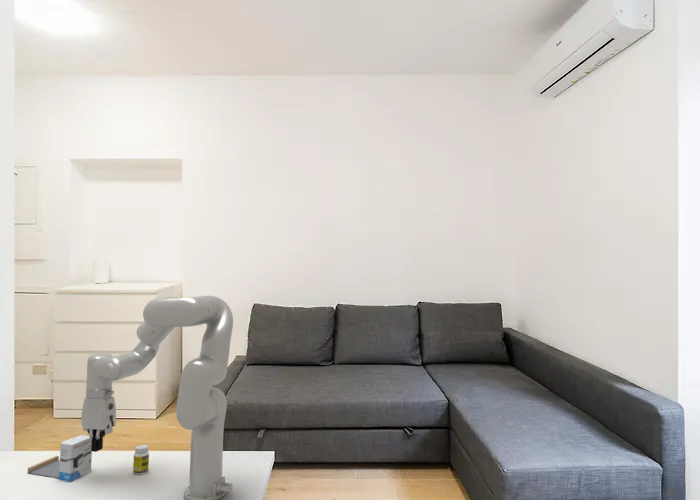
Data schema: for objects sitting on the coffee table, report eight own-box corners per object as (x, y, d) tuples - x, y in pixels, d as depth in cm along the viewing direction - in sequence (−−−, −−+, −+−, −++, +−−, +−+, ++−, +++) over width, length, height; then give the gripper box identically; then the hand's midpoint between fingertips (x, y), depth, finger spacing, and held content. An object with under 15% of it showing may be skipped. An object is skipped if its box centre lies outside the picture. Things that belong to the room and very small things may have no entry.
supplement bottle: (142, 475, 162) (143, 449, 162) (129, 474, 163) (130, 448, 163) (151, 470, 166) (152, 444, 167) (138, 468, 167) (139, 443, 168)
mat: (86, 465, 169) (86, 460, 169) (59, 478, 158) (59, 473, 158) (55, 461, 173) (56, 455, 173) (27, 473, 162) (27, 467, 162)
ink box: (69, 482, 156) (71, 444, 156) (58, 479, 158) (59, 442, 158) (92, 471, 164) (93, 436, 165) (80, 469, 166) (82, 434, 166)
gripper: (126, 392, 161) (124, 448, 161) (89, 388, 165) (87, 443, 165) (109, 397, 154) (107, 457, 153) (71, 393, 158) (68, 451, 157)
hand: (96, 450), depth 159 cm, fingers closed
